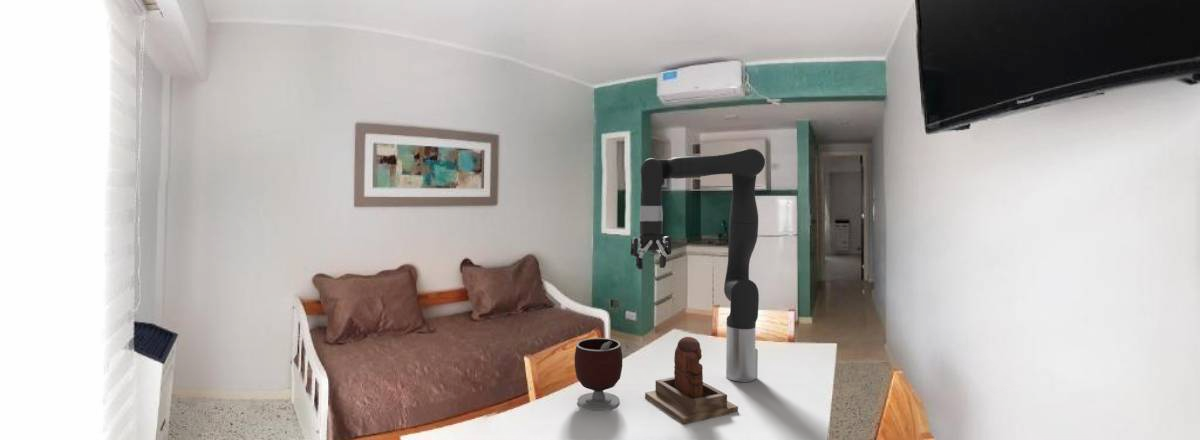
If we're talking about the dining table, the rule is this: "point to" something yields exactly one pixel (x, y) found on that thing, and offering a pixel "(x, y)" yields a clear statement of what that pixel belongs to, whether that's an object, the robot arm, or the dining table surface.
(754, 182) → the robot arm
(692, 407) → the cradle
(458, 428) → the dining table surface
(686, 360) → the wooden figurine
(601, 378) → the mate gourd
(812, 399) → the dining table surface
